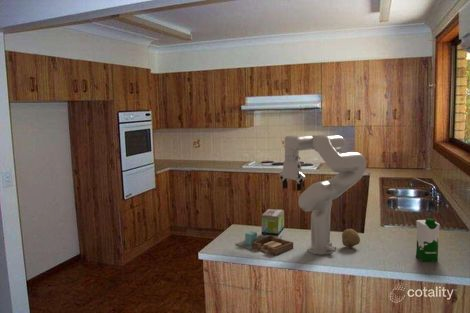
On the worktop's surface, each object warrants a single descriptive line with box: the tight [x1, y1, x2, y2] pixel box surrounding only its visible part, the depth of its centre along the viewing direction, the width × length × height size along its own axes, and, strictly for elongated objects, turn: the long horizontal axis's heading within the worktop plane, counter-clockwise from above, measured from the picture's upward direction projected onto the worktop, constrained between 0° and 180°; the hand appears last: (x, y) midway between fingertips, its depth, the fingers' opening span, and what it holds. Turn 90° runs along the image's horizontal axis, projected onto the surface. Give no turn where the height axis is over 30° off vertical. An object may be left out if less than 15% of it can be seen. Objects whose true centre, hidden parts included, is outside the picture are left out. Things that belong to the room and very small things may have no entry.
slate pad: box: [235, 240, 255, 251], centre depth 220 cm, size 12×12×1 cm
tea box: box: [261, 208, 285, 239], centre depth 230 cm, size 15×10×15 cm, turn 161°
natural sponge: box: [341, 228, 361, 249], centre depth 211 cm, size 9×9×10 cm
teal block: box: [244, 230, 258, 246], centre depth 220 cm, size 4×4×6 cm
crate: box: [252, 236, 294, 257], centre depth 213 cm, size 16×14×4 cm
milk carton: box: [415, 217, 441, 262], centre depth 193 cm, size 9×9×20 cm
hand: (292, 189), depth 224 cm, fingers open, 9 cm apart
